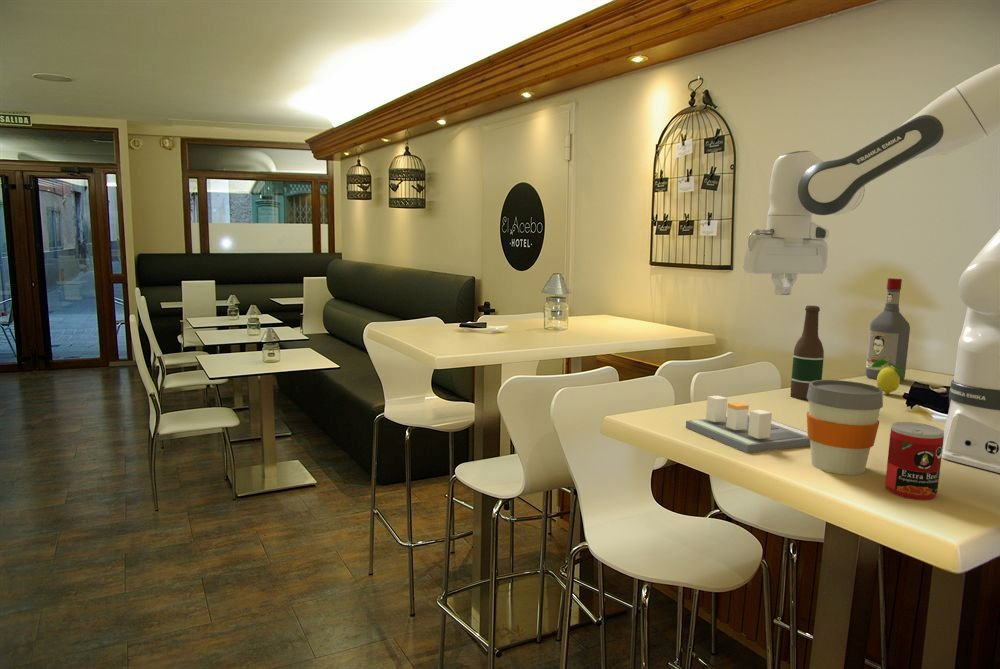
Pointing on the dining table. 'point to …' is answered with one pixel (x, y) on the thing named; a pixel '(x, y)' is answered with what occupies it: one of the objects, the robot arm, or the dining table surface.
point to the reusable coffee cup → (842, 424)
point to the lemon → (888, 376)
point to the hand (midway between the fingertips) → (782, 294)
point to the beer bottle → (807, 356)
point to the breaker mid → (737, 416)
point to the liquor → (888, 334)
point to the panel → (741, 440)
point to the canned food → (914, 460)
